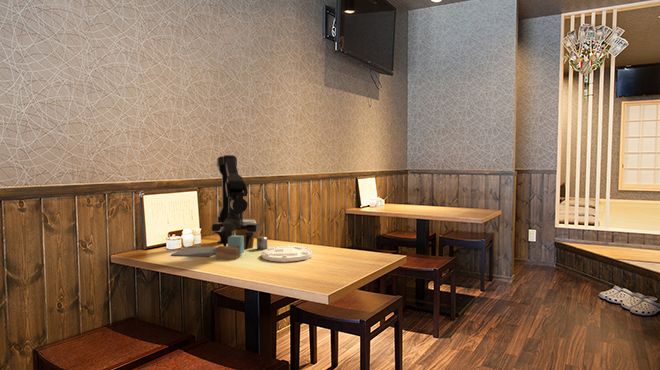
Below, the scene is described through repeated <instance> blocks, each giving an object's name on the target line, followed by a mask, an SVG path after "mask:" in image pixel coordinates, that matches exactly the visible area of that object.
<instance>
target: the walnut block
mask: <svg viewBox="0 0 660 370" xmlns="http://www.w3.org/2000/svg"><path fill="white" fill-rule="evenodd" d="M215 255H216V260H231V259H237V260H238V259H239V257H240V255H239V247H236V246H228V245H226V246H223V245H219V246H217V248H216V254H215Z"/></svg>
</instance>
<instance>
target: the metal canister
mask: <svg viewBox="0 0 660 370" xmlns="http://www.w3.org/2000/svg"><path fill="white" fill-rule="evenodd" d="M265 249H266V250H267V249H268V237H267V236H258V237H256V250H258V251H263V250H265Z"/></svg>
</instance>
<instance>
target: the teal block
mask: <svg viewBox="0 0 660 370" xmlns="http://www.w3.org/2000/svg"><path fill="white" fill-rule="evenodd" d="M227 246H236V247H239V256H240V254H241V255H242V254H244V253H245V249H244V236H239V235H237V234H236V235H235V234H234V235H232V236H230V237H228V243H227Z"/></svg>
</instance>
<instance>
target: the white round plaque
mask: <svg viewBox="0 0 660 370" xmlns="http://www.w3.org/2000/svg"><path fill="white" fill-rule="evenodd" d="M312 256H313V251H312V250H311V248H309V247H308V246H307V247H306V246H305V245H304V246H303V245H296V244H295V245H291V246H290V245H288V244H286V245H283V246H282V245H275V246H273V247H272V246H268V247H267V249H265V250H261V258H262V259H264V260H266V261H271V262H280V263H281V262H282V263H288V262H296V261H297V262H299V261H306V260H310V258H311V257H312Z"/></svg>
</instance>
